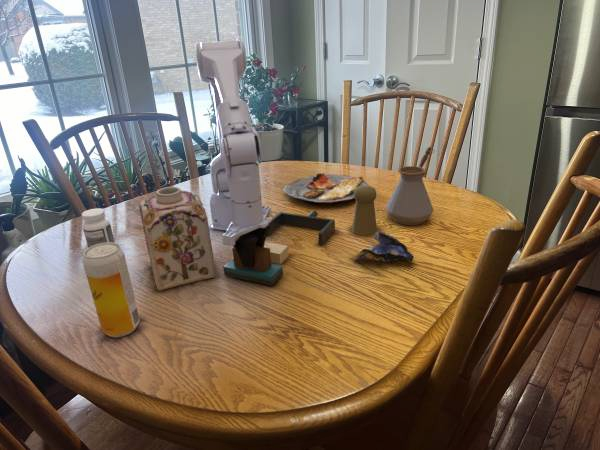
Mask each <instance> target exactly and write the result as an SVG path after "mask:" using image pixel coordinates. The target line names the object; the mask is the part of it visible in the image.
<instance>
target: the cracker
mask: <svg viewBox="0 0 600 450" xmlns="http://www.w3.org/2000/svg"><path fill="white" fill-rule="evenodd" d="M264 247H265V248H270V255H271V264H275V265H282V263H284V262H285V260H286V259H287V258H289V256H290V254H289V253H290V252H289V251H290V250H289V245H286V244H281V243H273V242H266V244H264Z"/></svg>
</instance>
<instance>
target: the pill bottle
mask: <svg viewBox="0 0 600 450" xmlns="http://www.w3.org/2000/svg"><path fill="white" fill-rule="evenodd" d="M81 219H82V221H83V223H82V230H83V235H84V237H85V241H86V246H87V248H89V247H91V246H93V245H96V244H99V243H105V242H114V243H116V240H115V237H114V232H113V230H112V226H111V222H110V219H109V218H107V217H106V212H105V209H104V208H99V207H97V208H90V209H87V210H85V211H83V212H82V213H81Z"/></svg>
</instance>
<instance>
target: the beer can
mask: <svg viewBox="0 0 600 450" xmlns="http://www.w3.org/2000/svg"><path fill="white" fill-rule="evenodd" d="M82 255H83V256H82V260H81V261H82V265H83V268H84V272H85V275H86V279H87V282H88V283H87V284H88V287H89V290H90V294H91V297H92V301H93V304H94V307H95V311H96V314H97V319H98V322H99V325H100V330H101V332H102V333H103V334H105V335H107V336H108V337H110V338H121V337H125V336H127V335H130V334H132V333H133V332H134V331H135V330H136V329H137V328H138V325H139V324H140V314H139V311H138V305H137V302H136V298H135V297H136V296H135V294H134V290H133V285H132V281H131V276H130V271H129V268H128V264H127V259H126V255H125V251H124V249H122V247H121V246H120V244H119V243H117V242H115V243H114V242H105V243H99V244H96V245H93V246H91V247H89V248H88V247H87V248H86V249H84V251H83V253H82Z"/></svg>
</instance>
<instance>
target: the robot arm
mask: <svg viewBox="0 0 600 450" xmlns="http://www.w3.org/2000/svg"><path fill="white" fill-rule="evenodd" d="M194 51H195V52H194V53H195V59H196V67H197V72H198V77H199V79H200V81H201V82H205V83H208V84H209V86H210V88H211V90H212V94H213V104H214V111H215V119H216V128H217V134H218V135H217V138H218V144H219V154H218V155H217V156H215V157H214V158H213V159H212V160H211V162H210V164H209V166H210V167H209V168H210V178H211V179H210V180H211V186H212V191H213V192H212V194H211V196H210V199H209V209H210V214H211V215H210V216H211V221H212V223H211V226H210V228H211V229H213V230H218V231H225V232H224V233H222V235H221V236H222V237H221V238H222V244H223V245H224V246H227V247H234V248H235V249H236V251H237V253H238V255H239V257H240V260H241V262H242V264H243V266H244V267H248V268H253V267H254V251H255V246H260V247H264V246H265V245H266V244H265V243H266V240H267V237H268V236H267V234H268V232H269V230H270V224H269V222H268V221H269V220H267V218H270V217H272V207H271V206H267V205H263V200H262V188H261V178H260V176H261V175H260V167H259V164H260V165H261V163H262V162H261V161H262V146H261V141H260V137H259V134H258V132H257V130H256V127H255V126H253V123H252V119H251V114H250V109H249V105H248V104H247V102H246V101H245V100H243V99H241V95H240V87H239V86H240V85H239V80H241V79H243V77H244V75H245V72H246V69H247V51H246V46H245V43H244V42H243V40H241V39H237V40H223V41H201V42H200V41H197V42H196V43H195V44H194Z"/></svg>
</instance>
